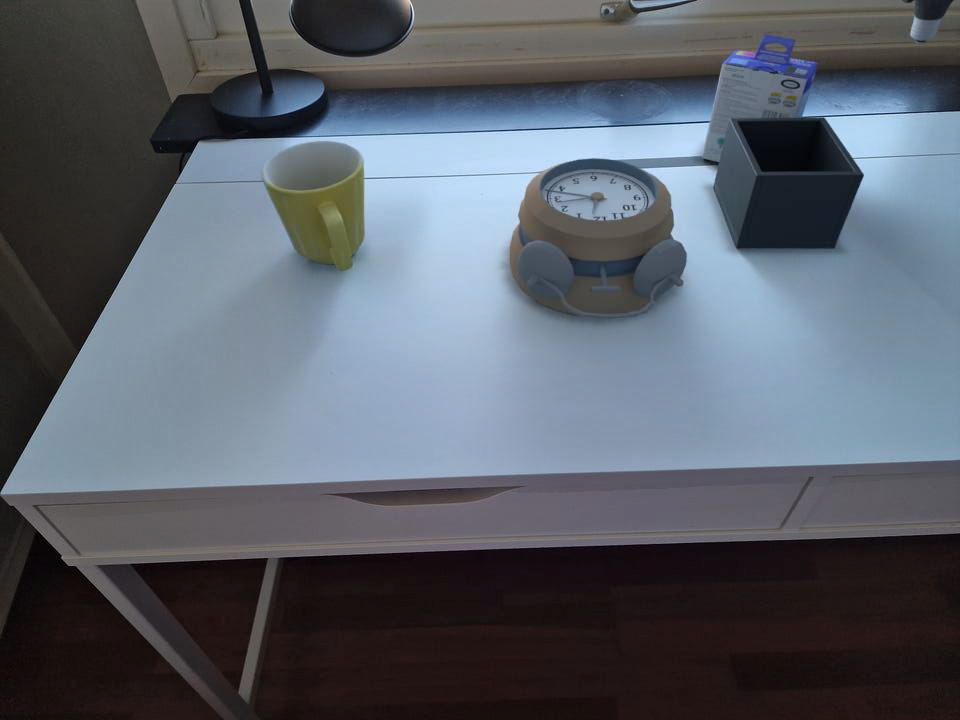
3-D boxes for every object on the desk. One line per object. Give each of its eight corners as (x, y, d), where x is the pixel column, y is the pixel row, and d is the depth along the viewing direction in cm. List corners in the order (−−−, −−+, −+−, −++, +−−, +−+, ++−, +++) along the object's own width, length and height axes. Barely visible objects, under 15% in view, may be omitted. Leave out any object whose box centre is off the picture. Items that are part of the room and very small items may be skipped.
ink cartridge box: (790, 159, 87) (828, 40, 77) (779, 178, 84) (816, 58, 74) (713, 141, 91) (739, 26, 81) (700, 159, 88) (725, 42, 78)
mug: (285, 229, 79) (262, 145, 72) (373, 218, 80) (360, 134, 73) (283, 305, 70) (256, 216, 62) (383, 291, 71) (369, 202, 63)
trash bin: (800, 187, 83) (824, 117, 76) (834, 248, 74) (864, 174, 68) (712, 187, 83) (729, 118, 77) (735, 248, 74) (756, 175, 68)
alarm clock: (671, 143, 72) (721, 280, 56) (658, 218, 79) (698, 360, 62) (509, 145, 73) (511, 282, 57) (509, 219, 79) (510, 361, 63)
